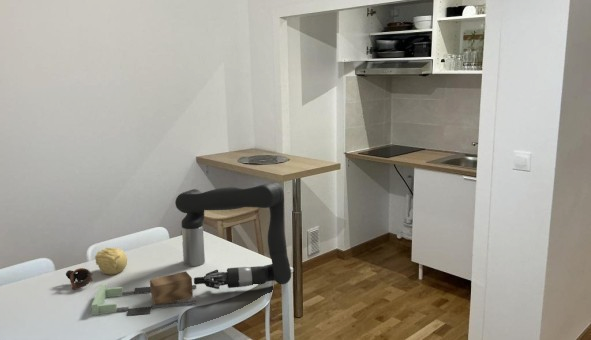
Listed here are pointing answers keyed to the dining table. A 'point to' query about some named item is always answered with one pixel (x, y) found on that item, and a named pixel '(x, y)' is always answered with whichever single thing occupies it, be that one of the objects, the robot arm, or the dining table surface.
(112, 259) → the sculpture
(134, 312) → the mats
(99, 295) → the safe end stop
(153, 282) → the walnut block
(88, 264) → the dining table surface
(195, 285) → the lane rails
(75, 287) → the pottery mug
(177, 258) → the dining table surface
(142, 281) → the dining table surface
